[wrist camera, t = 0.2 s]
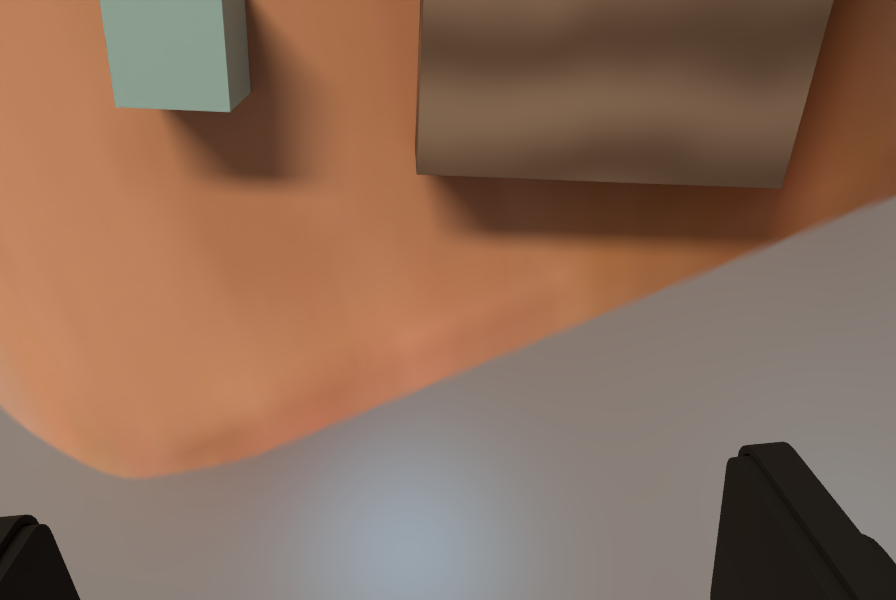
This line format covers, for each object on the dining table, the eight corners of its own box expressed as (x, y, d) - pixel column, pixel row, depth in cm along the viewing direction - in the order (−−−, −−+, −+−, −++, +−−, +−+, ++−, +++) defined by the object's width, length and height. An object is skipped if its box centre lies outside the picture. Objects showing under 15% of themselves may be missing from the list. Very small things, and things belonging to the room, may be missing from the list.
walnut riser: (426, -161, 32) (430, -179, 27) (810, -132, 33) (873, -145, 29) (415, 147, 38) (416, 174, 33) (738, 161, 39) (781, 188, 35)
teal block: (137, -21, 34) (97, -16, 29) (244, -15, 34) (220, -9, 30) (150, 87, 36) (115, 107, 31) (251, 92, 36) (230, 112, 32)
